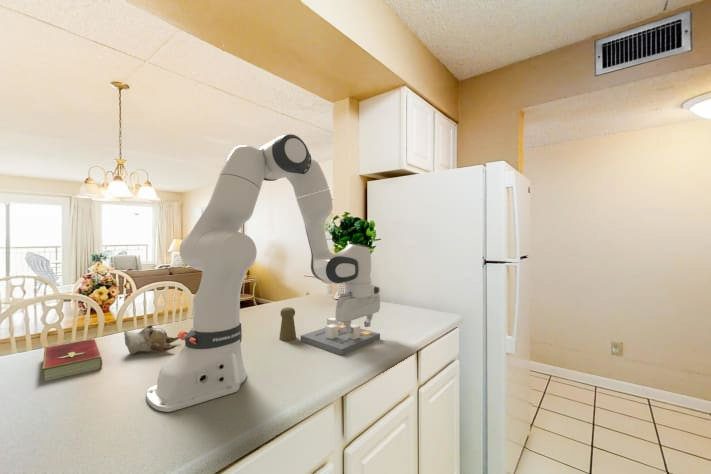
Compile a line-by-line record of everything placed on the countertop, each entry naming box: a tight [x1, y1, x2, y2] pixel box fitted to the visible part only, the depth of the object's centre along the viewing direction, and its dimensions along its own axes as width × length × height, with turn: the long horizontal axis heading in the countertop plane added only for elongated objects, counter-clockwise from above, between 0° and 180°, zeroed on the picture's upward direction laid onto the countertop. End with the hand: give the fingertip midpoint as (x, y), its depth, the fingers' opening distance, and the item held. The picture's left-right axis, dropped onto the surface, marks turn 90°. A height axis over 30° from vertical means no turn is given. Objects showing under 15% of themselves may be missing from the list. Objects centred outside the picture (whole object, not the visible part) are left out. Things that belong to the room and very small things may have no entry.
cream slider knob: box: [348, 324, 361, 340], centre depth 108 cm, size 3×3×4 cm
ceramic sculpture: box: [124, 325, 179, 355], centre depth 102 cm, size 11×9×15 cm
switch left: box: [326, 317, 339, 326], centre depth 117 cm, size 3×3×4 cm
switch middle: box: [324, 324, 338, 339], centre depth 109 cm, size 3×3×4 cm
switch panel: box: [300, 322, 381, 356], centre depth 112 cm, size 20×20×2 cm
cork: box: [279, 307, 297, 342], centre depth 114 cm, size 6×6×11 cm
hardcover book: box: [41, 337, 103, 382], centre depth 93 cm, size 12×21×4 cm, turn 44°
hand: (358, 329), depth 110 cm, fingers open, 8 cm apart
